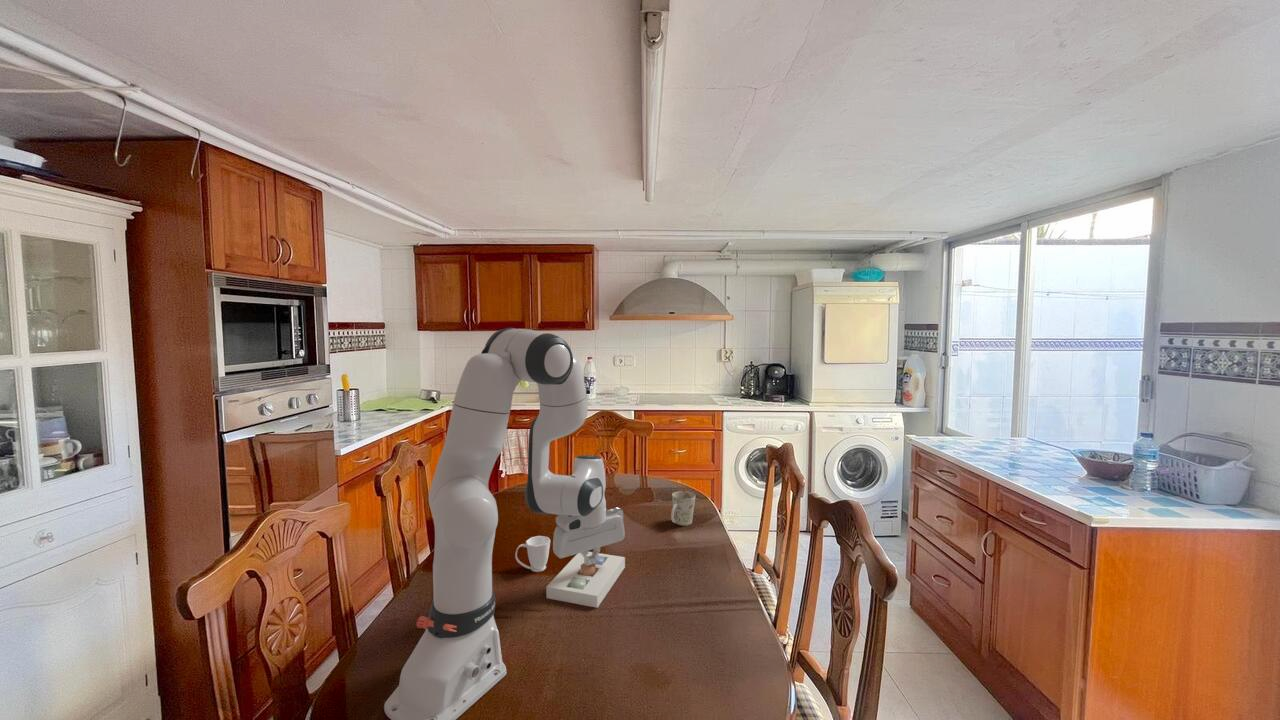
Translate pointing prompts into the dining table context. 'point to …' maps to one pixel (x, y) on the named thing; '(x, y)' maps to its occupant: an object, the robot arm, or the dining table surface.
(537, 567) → the cup
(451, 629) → the robot arm
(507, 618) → the dining table surface
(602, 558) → the slate button
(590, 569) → the terracotta button
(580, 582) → the sage button
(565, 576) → the button panel
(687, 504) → the mug
